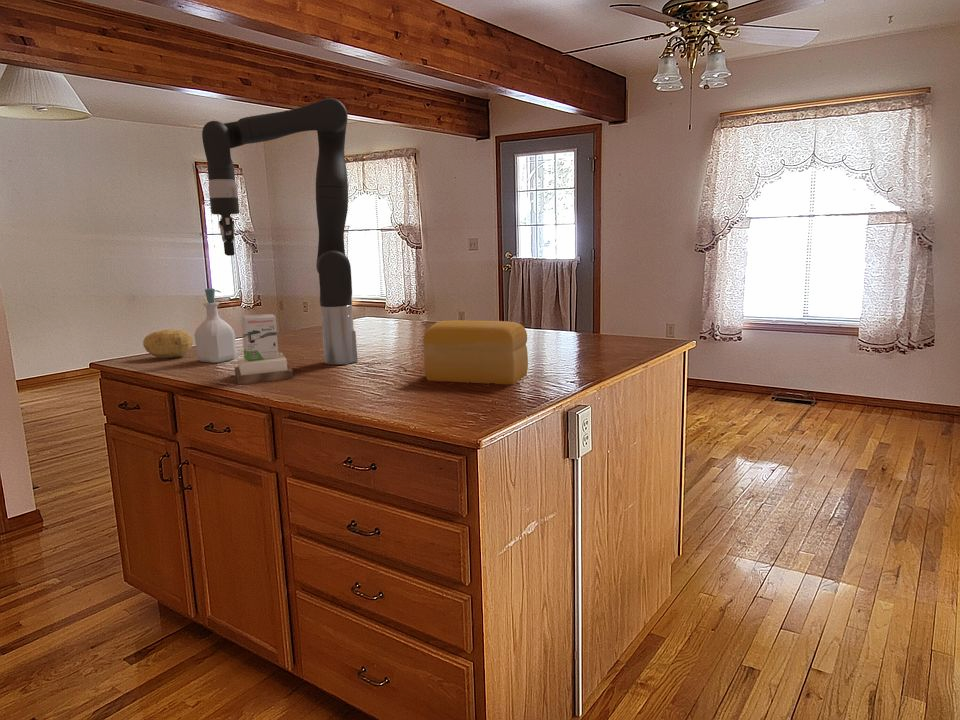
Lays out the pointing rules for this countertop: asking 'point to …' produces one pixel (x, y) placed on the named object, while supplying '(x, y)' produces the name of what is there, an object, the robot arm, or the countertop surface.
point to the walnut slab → (263, 376)
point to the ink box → (259, 337)
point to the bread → (476, 351)
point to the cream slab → (262, 365)
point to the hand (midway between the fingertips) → (229, 255)
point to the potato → (168, 343)
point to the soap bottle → (214, 335)
